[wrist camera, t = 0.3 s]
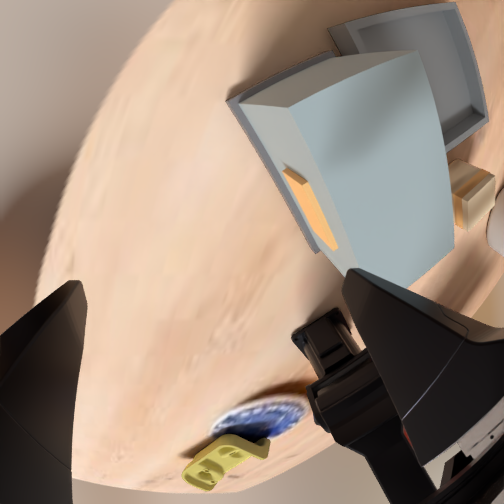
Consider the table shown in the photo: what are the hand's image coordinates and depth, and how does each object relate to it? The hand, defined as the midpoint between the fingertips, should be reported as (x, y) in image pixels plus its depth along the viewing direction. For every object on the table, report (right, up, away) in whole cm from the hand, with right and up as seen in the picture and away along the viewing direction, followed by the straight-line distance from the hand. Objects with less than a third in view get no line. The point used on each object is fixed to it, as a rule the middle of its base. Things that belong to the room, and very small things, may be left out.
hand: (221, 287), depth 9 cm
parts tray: (+17, +18, +11) cm, 27 cm away
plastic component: (-6, -39, +38) cm, 55 cm away
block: (+23, +9, +18) cm, 31 cm away
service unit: (+6, +9, +13) cm, 17 cm away
